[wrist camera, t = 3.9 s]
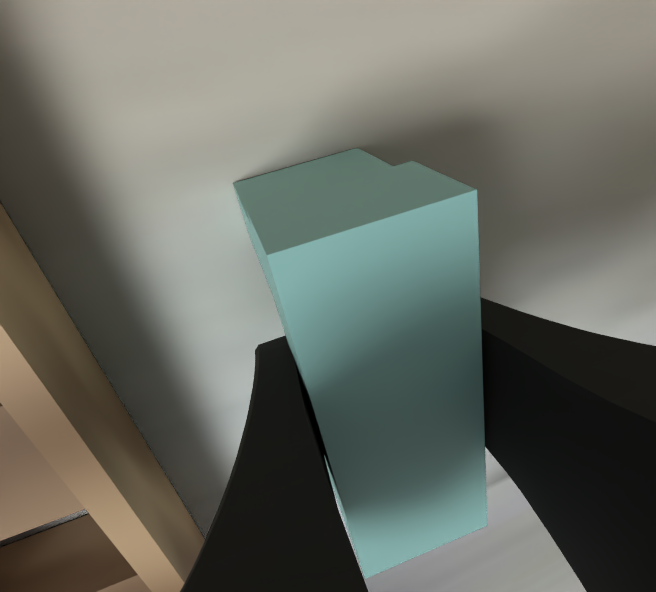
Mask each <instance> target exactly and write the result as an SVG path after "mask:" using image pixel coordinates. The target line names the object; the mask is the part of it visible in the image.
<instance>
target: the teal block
mask: <svg viewBox="0 0 656 592" xmlns="http://www.w3.org/2000/svg"><path fill="white" fill-rule="evenodd" d="M233 185H234V188H235V191H236V194H237V198H238V201H239V204H240V207H241V210H242V213H243V216H244V220H245V223H246V226H247V229H248V232H249V235H250V238H251V241H252V244H253V246H254V249H255V251H256V254H257V256H258V259H259V261H260V264H261V266H262V269H263V271H264V274H265V276H266V279H267V281H268V284H269V286H270V289H271V291H272V294H273V297H274V300H275V303H276V306H277V309H278V313H279V316H280V319H281V322H282V325H283V329H284V332H285V335H286V338H287V341H288V344H289V347H290V349H291V352H292V354H293V356H294V359H295V362H296V366H297V369H298V372H299V375H300V378H301V382H302V385H303V388H304V391H305V395H306V398H307V401H308V404H309V407H310V411H311V414H312V417H313V420H314V424H315V427H316V430H317V433H318V436H319V440H320V443H321V446H322V449H323V453H324V456H325V460H326V464H327V468H328V472H329V476H330V480H331V484H332V487H333V489H334V492H335V495H336V498H337V501H338V504H339V507H340V510H341V513H342V515H343V518H344V521H345V524H346V527H347V529H348V532H349V535H350V538H351V541H352V543H353V546H354V549H355V552H356V554H357V557H358V560H359V563H360V566H361V568H362V571H363V574H364V577H365V579H366V578H369V577H371V576H373V575H375V574H378V573H380V572H382V571H385V570H387V569H389V568H391V567H394V566H396V565H398V564H401V563H403V562H405V561H407V560H410V559H412V558H414V557H417V556H419V555H421V554H424V553H426V552H428V551H430V550H433V549H435V548H437V547H440V546H442V545H444V544H446V543H449V542H451V541H453V540H456V539H458V538H460V537H462V536H465V535H467V534H469V533H472V532H474V531H476V530H478V529H481V528H483V527H485V526H487V497H486V464H485V432H484V399H483V367H482V334H481V301H480V269H479V236H478V204H477V189H475V188H472V187H470V186H468V185H466V184H464V183H461V182H459V181H457V180H455V179H452V178H450V177H448V176H446V175H444V174H441V173H439V172H437V171H435V170H432V169H430V168H428V167H426V166H424V165H421V164H419V163H417V162H415V161H409V162H406V163H403V164H399V165H396V166H392V165H390V164H388V163H386V162H384V161H382V160H380V159H378V158H376V157H374V156H372V155H370V154H368V153H366V152H365V151H363V150H361V149H359V148H355V149H351V150H348V151H344V152H341V153H337V154H334V155H330V156H327V157H323V158H320V159H316V160H313V161H309V162H306V163H302V164H299V165H295V166H292V167H288V168H285V169H281V170H278V171H274V172H271V173H267V174H264V175H260V176H256V177H253V178H249V179H246V180H242V181H239V182H235V183H233Z"/></svg>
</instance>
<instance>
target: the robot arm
mask: <svg viewBox="0 0 656 592" xmlns="http://www.w3.org/2000/svg"><path fill="white" fill-rule="evenodd" d="M480 301H481V334H482V367H483V399H484V432H485V447H486V448H487V449H488V450H489V452H490V453H491V454H492V455H493V456H494V458H495V459H496V460H497V461H498V462H499V464H500V465H501V466H502V467H503V468H504V470H505V471H506V472H507V473H508V475H509V476H510V477H511V479H512V480H513V481H514V483H515V484H516V485H517V487H518V488H519V489H520V491H521V492H522V493H523V495H524V496H525V498H526V499H527V501H528V502H529V504H530V505H531V507H532V508H533V510H534V511H535V513H536V514H537V516H538V517H539V519H540V520H541V522H542V523H543V525H544V526H545V527H546V529H547V530H548V532H549V533H550V535H551V537H552V538H553V540H554V541H555V543H556V544H557V546H558V547H559V549H560V550H561V552H562V554H563V555H564V557H565V558H566V560H567V561H568V563H569V564H570V566H571V567H572V569H573V571H574V572H575V574H576V575H577V577H578V578H579V580H580V582H581V583H582V585H583V586H584V588H585V590H586V591H587V592H656V346H652V345H647V344H641V343H637V342H632V341H628V340H623V339H618V338H614V337H609V336H605V335H600V334H596V333H592V332H588V331H584V330H580V329H577V328H573V327H570V326H566V325H563V324H559V323H556V322H553V321H549V320H546V319H543V318H539V317H536V316H533V315H530V314H527V313H524V312H521V311H518V310H515V309H512V308H509V307H506V306H503V305H500V304H498V303H495V302H492V301H489V300H486V299H484V298H481V297H480ZM180 592H368V590H367V587H366V584H365V582H364V579H363V576H362V573H361V571H360V568H359V565H358V563H357V560H356V557H355V554H354V552H353V549H352V546H351V544H350V541H349V538H348V535H347V533H346V530H345V527H344V524H343V522H342V519H341V516H340V514H339V511H338V508H337V504H336V500H335V496H334V492H333V488H332V484H331V480H330V476H329V472H328V468H327V464H326V460H325V456H324V453H323V449H322V446H321V443H320V440H319V436H318V433H317V430H316V427H315V424H314V420H313V417H312V414H311V411H310V407H309V404H308V401H307V398H306V395H305V391H304V388H303V385H302V382H301V378H300V375H299V372H298V369H297V366H296V362H295V359H294V356H293V354H292V352H291V349H290V347H289V344H288V341H287V338H286V336H283V337H280V338H277V339H274V340H271V341H268V342H265V343H263V344H260V345H258V347H257V348H256V350H255V374H254V382H253V389H252V394H251V400H250V405H249V410H248V415H247V420H246V424H245V428H244V431H243V435H242V439H241V443H240V446H239V450H238V454H237V457H236V460H235V463H234V466H233V470H232V473H231V476H230V479H229V481H228V484H227V487H226V490H225V492H224V495H223V498H222V501H221V503H220V506H219V508H218V511H217V513H216V515H215V518H214V520H213V522H212V525H211V527H210V530H209V532H208V534H207V537H206V539H205V541H204V544H203V546H202V548H201V550H200V552H199V555H198V557H197V559H196V561H195V563H194V565H193V567H192V570H191V571H190V573H189V575H188V577H187V579H186V581H185V583H184V585H183V587H182V589H181V591H180Z"/></svg>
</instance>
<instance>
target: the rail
mask: <svg viewBox="0 0 656 592" xmlns="http://www.w3.org/2000/svg"><path fill="white" fill-rule="evenodd" d="M84 509H86V510H87V511H88V513H89V514H88V515H85V516H83V517H80V518H77V519H75V520H72V521H69V522H67V523H64V524H61V525H59V526H56V527H54V528H51V529H48V530H46V531H43V532H40V533H38V534H35V535H32V536H30V537H27V538H24V539H22V540H19V541H17V542H14V543H11V544H9V545H6V546H3V547H1V548H0V592H180V591H181V589H182V587H183V585H184V583H185V581H186V579H187V577H188V575H189V573H190V571H191V570H192V567H193V565H194V563H195V561H196V559H197V557H198V555H199V552H200V550H201V548H202V546H203V544H204V541H205V539H204V537H203V536H202V534H201V532H200V531H199V529H198V527H197V526H196V524H195V522H194V521H193V519H192V517H191V516H190V514H189V513H188V511H187V509H186V508H185V506H184V504H183V503H182V501H181V499H180V498H179V496H178V494H177V493H176V491H175V490H174V488H173V486H172V485H171V483H170V481H169V480H168V478H167V476H166V475H165V473H164V471H163V470H162V468H161V466H160V465H159V463H158V462H157V460H156V458H155V457H154V455H153V453H152V452H151V450H150V448H149V447H148V445H147V443H146V442H145V440H144V438H143V437H142V435H141V434H140V432H139V430H138V429H137V427H136V425H135V424H134V422H133V420H132V419H131V417H130V415H129V414H128V412H127V410H126V409H125V407H124V406H123V404H122V402H121V401H120V399H119V397H118V396H117V394H116V392H115V391H114V389H113V387H112V386H111V384H110V382H109V381H108V379H107V378H106V376H105V374H104V373H103V371H102V369H101V368H100V366H99V364H98V363H97V361H96V359H95V358H94V356H93V354H92V353H91V351H90V350H89V348H88V346H87V345H86V343H85V341H84V340H83V338H82V336H81V335H80V333H79V331H78V330H77V328H76V326H75V325H74V323H73V322H72V320H71V318H70V317H69V315H68V313H67V312H66V310H65V308H64V307H63V305H62V303H61V302H60V300H59V298H58V297H57V295H56V294H55V292H54V290H53V289H52V287H51V285H50V284H49V282H48V280H47V279H46V277H45V275H44V274H43V272H42V270H41V269H40V267H39V266H38V264H37V262H36V261H35V259H34V257H33V256H32V254H31V252H30V251H29V249H28V247H27V246H26V244H25V243H24V241H23V239H22V238H21V236H20V234H19V233H18V231H17V229H16V228H15V226H14V224H13V223H12V221H11V219H10V218H9V216H8V215H7V213H6V211H5V210H4V208H3V206H2V205H1V203H0V541H1V540H4V539H7V538H9V537H12V536H15V535H17V534H20V533H23V532H25V531H28V530H31V529H33V528H36V527H39V526H41V525H44V524H47V523H49V522H52V521H55V520H57V519H60V518H63V517H65V516H68V515H71V514H73V513H76V512H79V511H81V510H84Z"/></svg>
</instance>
